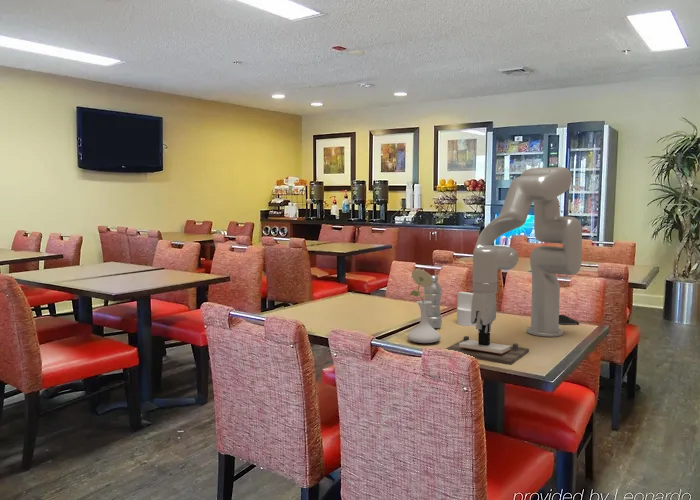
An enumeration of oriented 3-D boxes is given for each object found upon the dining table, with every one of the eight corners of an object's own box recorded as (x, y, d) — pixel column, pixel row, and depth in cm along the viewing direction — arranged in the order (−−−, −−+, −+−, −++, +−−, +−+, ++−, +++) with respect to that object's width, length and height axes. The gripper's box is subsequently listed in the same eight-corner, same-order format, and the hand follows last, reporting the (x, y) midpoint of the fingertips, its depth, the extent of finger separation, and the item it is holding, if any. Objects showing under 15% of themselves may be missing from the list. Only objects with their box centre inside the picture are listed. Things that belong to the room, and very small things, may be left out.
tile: (459, 343, 176) (458, 347, 176) (502, 350, 168) (501, 353, 168) (470, 339, 184) (470, 342, 184) (512, 345, 176) (512, 349, 176)
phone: (560, 323, 215) (545, 315, 230) (560, 325, 215) (545, 317, 230) (580, 322, 215) (564, 314, 230) (580, 325, 215) (564, 317, 230)
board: (464, 341, 190) (464, 332, 190) (528, 351, 177) (529, 341, 177) (442, 353, 176) (442, 343, 176) (511, 364, 164) (511, 354, 163)
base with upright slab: (452, 323, 218) (452, 293, 217) (466, 320, 224) (466, 290, 223) (470, 327, 211) (471, 296, 210) (484, 323, 217) (485, 293, 216)
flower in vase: (447, 343, 188) (448, 270, 186) (420, 347, 183) (421, 272, 180) (424, 334, 200) (424, 266, 197) (398, 339, 194) (398, 268, 192)
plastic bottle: (440, 330, 206) (440, 277, 204) (422, 329, 208) (422, 276, 206) (443, 326, 212) (443, 275, 210) (425, 325, 214) (426, 274, 212)
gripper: (482, 283, 182) (481, 338, 184) (463, 289, 170) (463, 348, 172) (505, 285, 178) (504, 341, 179) (487, 292, 165) (486, 352, 167)
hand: (484, 344), depth 175 cm, fingers closed
